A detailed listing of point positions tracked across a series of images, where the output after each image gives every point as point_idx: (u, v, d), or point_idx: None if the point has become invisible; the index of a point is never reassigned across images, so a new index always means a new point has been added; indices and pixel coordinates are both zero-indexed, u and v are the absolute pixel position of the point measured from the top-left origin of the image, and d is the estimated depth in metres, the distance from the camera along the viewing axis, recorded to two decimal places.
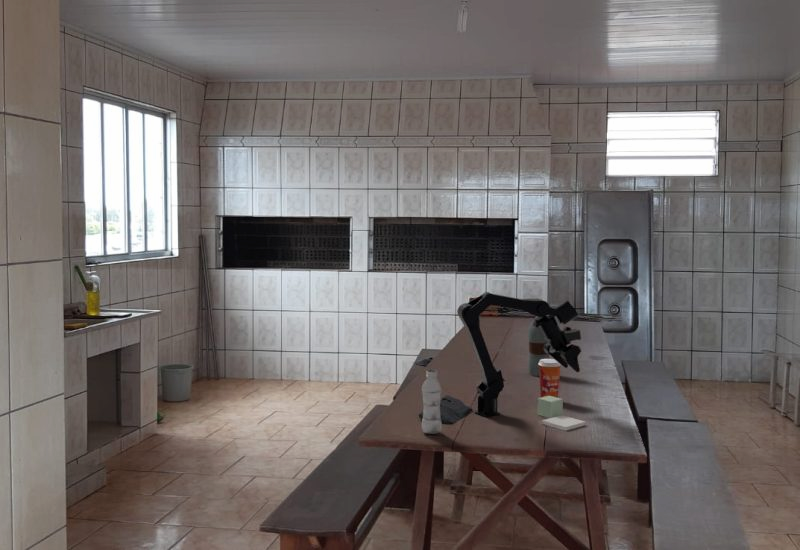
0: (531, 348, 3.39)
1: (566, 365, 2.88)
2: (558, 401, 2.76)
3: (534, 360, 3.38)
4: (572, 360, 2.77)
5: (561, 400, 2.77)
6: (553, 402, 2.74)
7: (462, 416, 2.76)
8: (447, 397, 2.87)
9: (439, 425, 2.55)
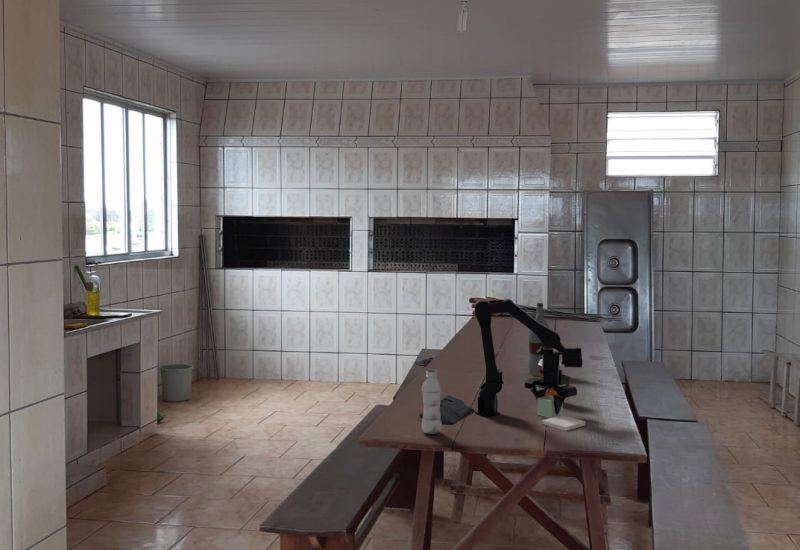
0: (531, 348, 3.39)
1: None
2: None
3: (534, 360, 3.38)
4: (559, 400, 2.74)
5: None
6: (553, 402, 2.74)
7: (463, 416, 2.75)
8: (448, 397, 2.87)
9: (439, 425, 2.55)
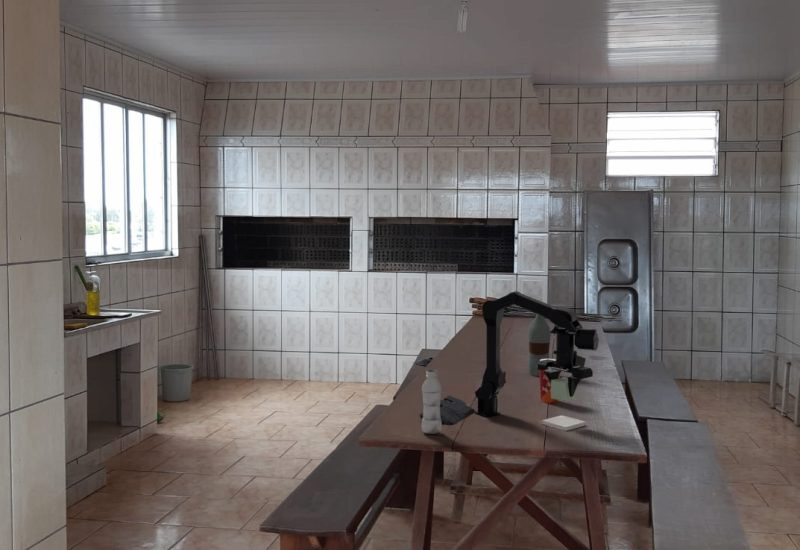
0: (531, 348, 3.39)
1: None
2: None
3: (534, 360, 3.38)
4: (574, 382, 2.63)
5: None
6: None
7: (463, 416, 2.75)
8: (449, 397, 2.86)
9: (439, 425, 2.55)
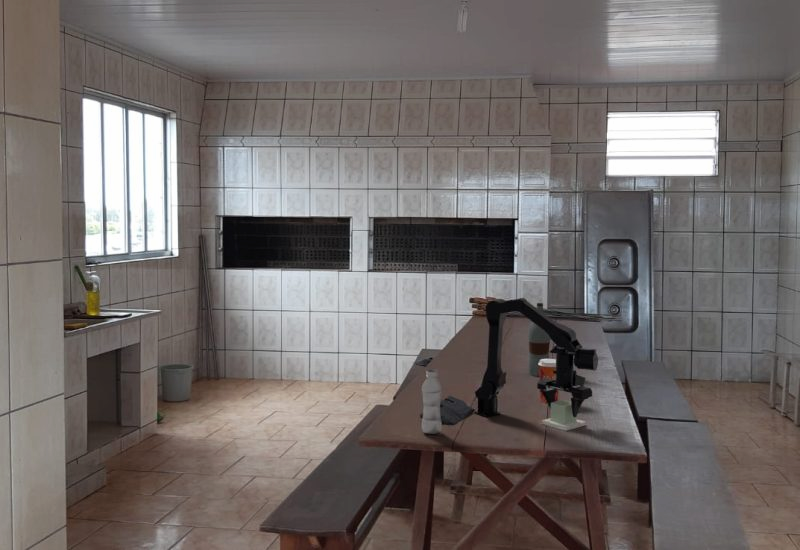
0: (531, 348, 3.39)
1: None
2: None
3: (534, 360, 3.38)
4: (577, 402, 2.62)
5: None
6: (567, 407, 2.63)
7: (464, 417, 2.75)
8: (450, 398, 2.86)
9: (439, 425, 2.55)
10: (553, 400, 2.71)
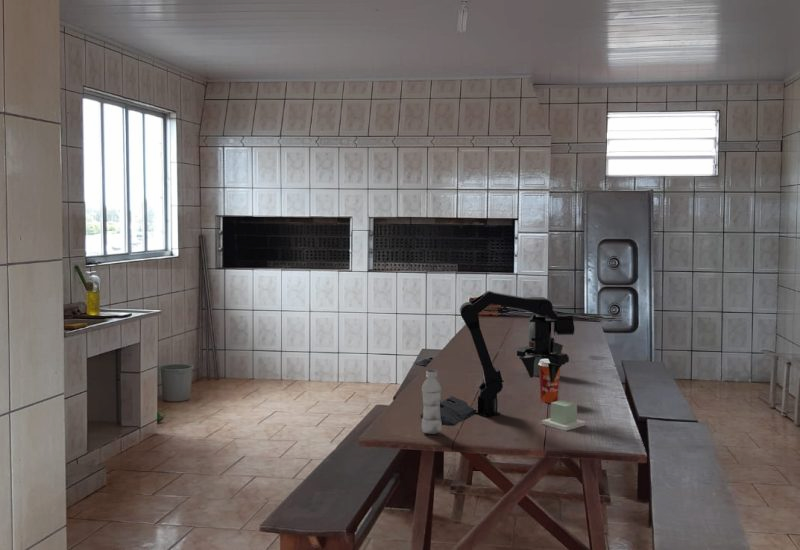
0: None
1: (532, 375, 2.82)
2: (572, 405, 2.65)
3: None
4: (554, 368, 2.74)
5: (575, 404, 2.66)
6: (567, 407, 2.63)
7: (465, 417, 2.74)
8: (452, 398, 2.86)
9: (439, 425, 2.55)
10: (532, 367, 2.82)
